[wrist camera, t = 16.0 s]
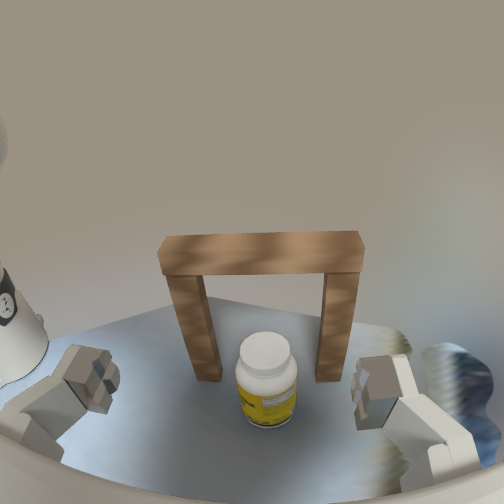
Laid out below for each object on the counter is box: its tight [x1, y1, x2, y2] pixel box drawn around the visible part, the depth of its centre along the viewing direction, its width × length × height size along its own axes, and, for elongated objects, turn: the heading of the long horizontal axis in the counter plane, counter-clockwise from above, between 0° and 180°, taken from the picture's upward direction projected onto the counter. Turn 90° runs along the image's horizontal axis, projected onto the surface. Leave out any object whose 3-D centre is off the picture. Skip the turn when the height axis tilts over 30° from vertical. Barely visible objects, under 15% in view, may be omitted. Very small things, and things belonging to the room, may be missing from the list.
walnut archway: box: [157, 231, 365, 382], centre depth 33 cm, size 18×3×20 cm, turn 86°
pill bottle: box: [235, 331, 298, 429], centre depth 31 cm, size 6×6×11 cm
